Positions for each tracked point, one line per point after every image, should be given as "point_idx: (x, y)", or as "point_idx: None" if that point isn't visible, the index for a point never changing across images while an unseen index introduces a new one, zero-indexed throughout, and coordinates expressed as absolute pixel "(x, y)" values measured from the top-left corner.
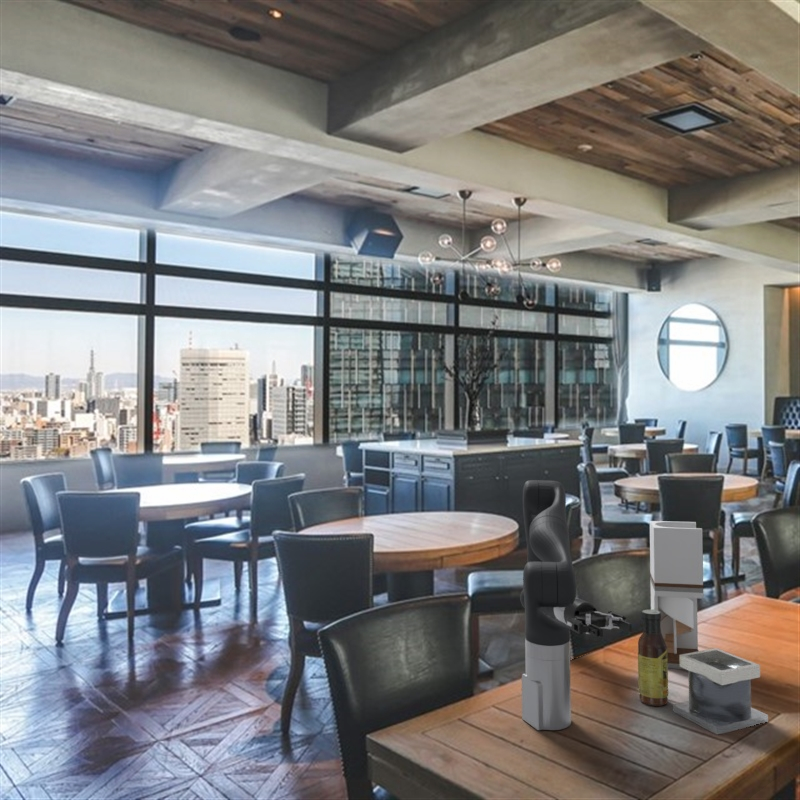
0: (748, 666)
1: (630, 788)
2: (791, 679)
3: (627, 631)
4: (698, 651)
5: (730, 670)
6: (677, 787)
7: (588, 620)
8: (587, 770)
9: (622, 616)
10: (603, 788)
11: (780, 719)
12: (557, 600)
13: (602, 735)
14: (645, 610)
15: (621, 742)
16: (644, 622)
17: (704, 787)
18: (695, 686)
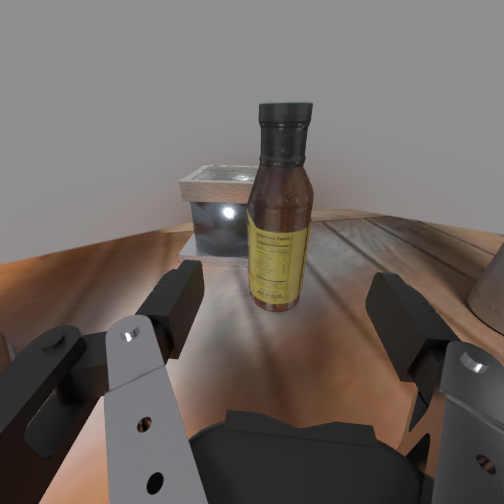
0: (220, 165)
1: (410, 221)
2: (11, 263)
3: (201, 298)
4: (221, 182)
5: (252, 166)
6: (368, 214)
7: (474, 409)
8: (449, 239)
9: (57, 349)
10: (436, 225)
11: (184, 228)
12: None
13: (413, 266)
14: (293, 101)
15: (392, 252)
16: (306, 135)
17: (347, 211)
18: None
